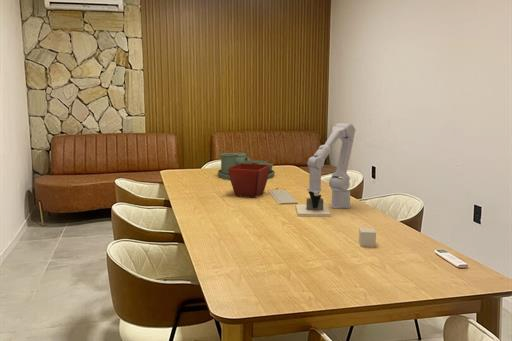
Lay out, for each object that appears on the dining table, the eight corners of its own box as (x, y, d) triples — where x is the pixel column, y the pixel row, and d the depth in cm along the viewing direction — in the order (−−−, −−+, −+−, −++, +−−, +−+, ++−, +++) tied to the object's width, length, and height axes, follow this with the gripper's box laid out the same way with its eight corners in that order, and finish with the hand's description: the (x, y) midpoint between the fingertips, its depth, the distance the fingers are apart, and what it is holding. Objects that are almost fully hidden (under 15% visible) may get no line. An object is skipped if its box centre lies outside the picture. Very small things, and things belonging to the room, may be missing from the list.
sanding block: (322, 207, 251) (322, 198, 250) (323, 210, 246) (323, 200, 245) (306, 207, 251) (306, 198, 250) (307, 210, 246) (307, 200, 245)
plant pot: (227, 196, 282) (227, 167, 279) (240, 190, 299) (240, 162, 296) (258, 199, 274) (258, 170, 271) (270, 192, 292) (270, 164, 289)
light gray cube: (358, 241, 203) (359, 227, 202) (373, 242, 202) (374, 228, 201) (360, 246, 197) (360, 232, 196) (375, 246, 196) (376, 232, 195)
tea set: (255, 184, 318) (255, 159, 315) (206, 177, 339) (206, 154, 336) (284, 174, 351) (285, 151, 348) (238, 169, 372) (238, 147, 369)
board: (325, 207, 258) (325, 204, 258) (330, 216, 240) (330, 213, 240) (295, 207, 258) (295, 204, 258) (298, 216, 240) (298, 213, 240)
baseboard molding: (275, 205, 263) (297, 205, 265) (275, 200, 263) (297, 200, 265) (266, 192, 294) (285, 192, 295) (266, 188, 293) (286, 187, 295)
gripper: (305, 177, 253) (305, 203, 256) (308, 183, 239) (307, 210, 241) (319, 177, 253) (318, 203, 256) (323, 183, 239) (322, 210, 241)
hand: (314, 206), depth 248 cm, fingers closed on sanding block, 5 cm apart
